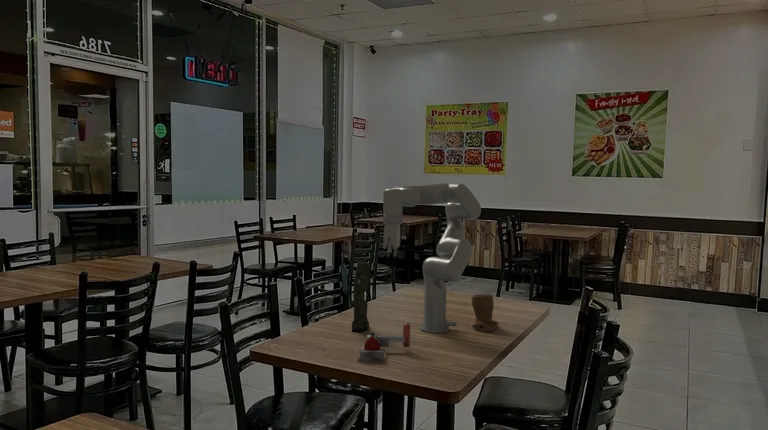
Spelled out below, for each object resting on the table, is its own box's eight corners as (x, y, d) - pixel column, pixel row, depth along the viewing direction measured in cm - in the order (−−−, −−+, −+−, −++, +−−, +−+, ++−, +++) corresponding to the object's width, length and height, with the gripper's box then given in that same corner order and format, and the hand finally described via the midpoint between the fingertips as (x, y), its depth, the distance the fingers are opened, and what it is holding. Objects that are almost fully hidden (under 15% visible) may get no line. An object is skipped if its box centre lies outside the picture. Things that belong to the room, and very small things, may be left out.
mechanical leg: (363, 332, 236) (368, 260, 241) (346, 331, 238) (352, 260, 243) (370, 332, 250) (375, 264, 255) (354, 331, 251) (359, 263, 256)
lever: (365, 347, 213) (366, 324, 213) (366, 343, 218) (366, 321, 217) (410, 347, 213) (410, 325, 213) (409, 344, 218) (410, 322, 217)
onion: (363, 354, 210) (363, 333, 210) (378, 354, 211) (379, 332, 211) (364, 359, 205) (364, 337, 204) (380, 359, 205) (380, 337, 205)
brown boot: (475, 322, 261) (476, 290, 260) (500, 326, 256) (502, 292, 255) (465, 330, 247) (466, 296, 246) (492, 334, 242) (493, 299, 241)
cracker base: (384, 347, 219) (385, 330, 219) (385, 361, 202) (386, 343, 202) (358, 347, 219) (359, 330, 219) (357, 361, 202) (357, 342, 202)
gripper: (388, 218, 233) (387, 262, 234) (378, 221, 218) (378, 268, 220) (406, 218, 231) (405, 263, 232) (397, 221, 216) (397, 269, 218)
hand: (392, 266), depth 226 cm, fingers closed
